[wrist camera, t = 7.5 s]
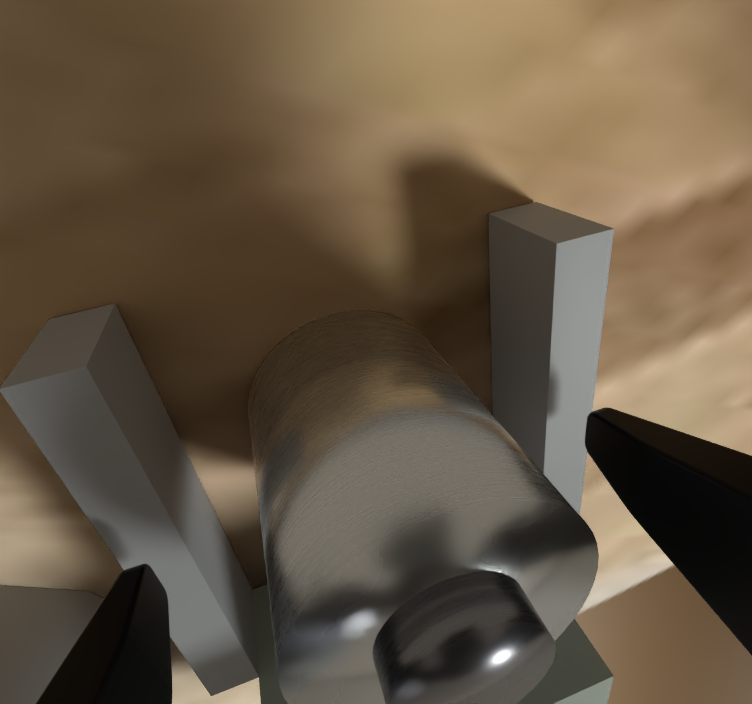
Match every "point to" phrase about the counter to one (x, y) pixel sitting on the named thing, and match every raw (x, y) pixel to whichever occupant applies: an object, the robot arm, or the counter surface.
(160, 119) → the counter surface
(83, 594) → the cup
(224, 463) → the counter surface
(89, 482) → the grey u-shaped bracket
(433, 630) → the bottle
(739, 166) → the counter surface
